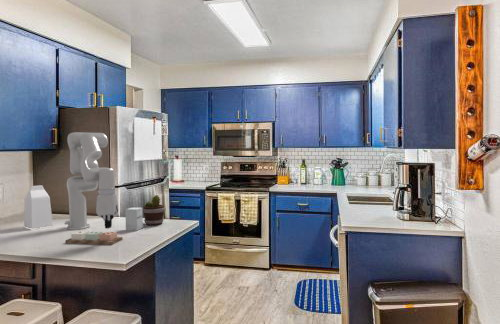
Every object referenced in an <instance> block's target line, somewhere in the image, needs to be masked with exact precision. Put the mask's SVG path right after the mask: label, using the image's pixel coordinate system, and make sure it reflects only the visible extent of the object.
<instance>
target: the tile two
mask: <svg viewBox="0 0 500 324" xmlns="http://www.w3.org/2000/svg"><path fill="white" fill-rule="evenodd" d="M102 233H104V231H89V233H87V234H85V240H98V239H100V234H102Z"/></svg>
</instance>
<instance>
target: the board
mask: <svg viewBox="0 0 500 324" xmlns="http://www.w3.org/2000/svg"><path fill="white" fill-rule="evenodd" d="M123 239H124V238H123V236H117V238H115V239H113V240H111V241H102V240H100V239H98V240H85V239H83V240H72V239H71V237H70V238H68V239H66V240H65V241H64V243H65V244H71V245H72V244H74V245H75V244H79V245H81V244H82V245H103V246H104V245H105V246H113V245H115V244H117V243H119V242H122V241H123Z"/></svg>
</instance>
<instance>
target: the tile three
mask: <svg viewBox="0 0 500 324" xmlns="http://www.w3.org/2000/svg"><path fill="white" fill-rule="evenodd" d="M117 237H118V231H117V232H116V231H104V232H103V233H102V234H100V240H102V241H112V240H113V239H115V238H117Z"/></svg>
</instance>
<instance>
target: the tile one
mask: <svg viewBox="0 0 500 324" xmlns="http://www.w3.org/2000/svg"><path fill="white" fill-rule="evenodd" d="M87 233H90V231H89V230H88V231H87V230H76V231H75V232H73V233H71V234H70V236H71V237H70V238H71V239H72V240H83V239H85V234H87Z"/></svg>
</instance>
